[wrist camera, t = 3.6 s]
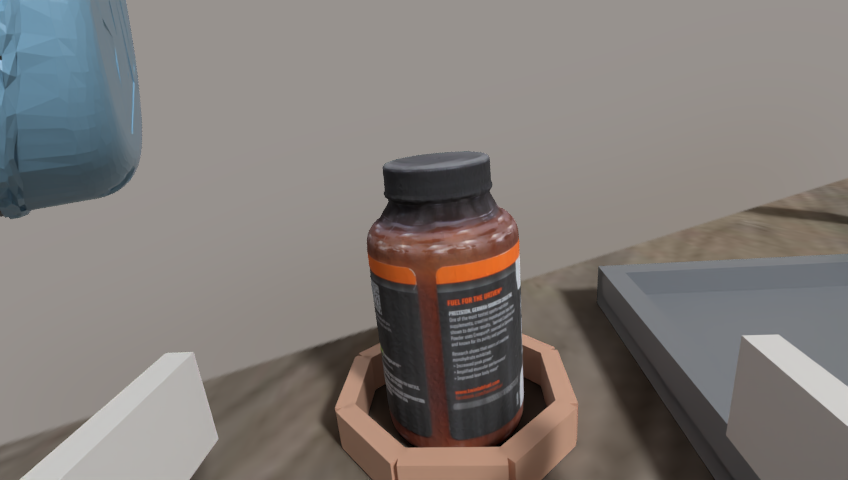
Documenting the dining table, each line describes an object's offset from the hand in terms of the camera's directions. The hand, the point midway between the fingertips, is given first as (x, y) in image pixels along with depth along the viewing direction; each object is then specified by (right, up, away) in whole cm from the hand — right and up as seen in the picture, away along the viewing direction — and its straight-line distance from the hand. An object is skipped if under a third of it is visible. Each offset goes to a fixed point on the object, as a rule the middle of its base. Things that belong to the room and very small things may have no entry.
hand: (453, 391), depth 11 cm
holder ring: (+1, -4, +9) cm, 10 cm away
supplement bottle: (+1, -4, +9) cm, 10 cm away
